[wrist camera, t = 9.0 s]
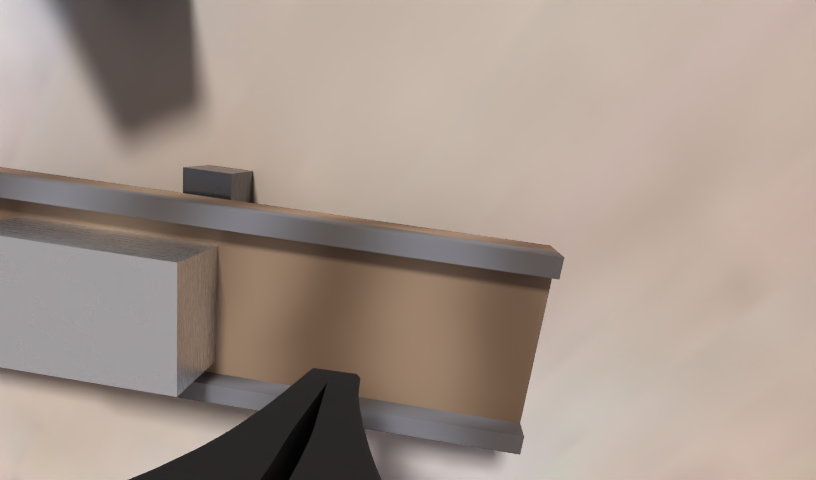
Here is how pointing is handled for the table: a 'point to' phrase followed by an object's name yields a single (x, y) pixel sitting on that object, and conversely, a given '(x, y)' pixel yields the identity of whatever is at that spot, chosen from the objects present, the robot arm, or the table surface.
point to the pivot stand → (218, 182)
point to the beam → (342, 304)
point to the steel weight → (106, 305)
